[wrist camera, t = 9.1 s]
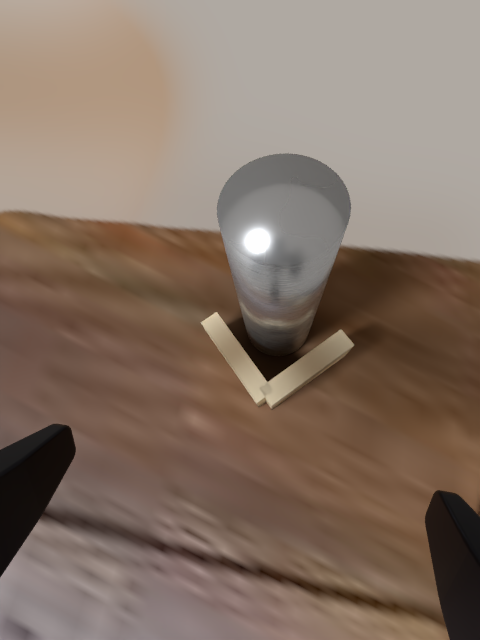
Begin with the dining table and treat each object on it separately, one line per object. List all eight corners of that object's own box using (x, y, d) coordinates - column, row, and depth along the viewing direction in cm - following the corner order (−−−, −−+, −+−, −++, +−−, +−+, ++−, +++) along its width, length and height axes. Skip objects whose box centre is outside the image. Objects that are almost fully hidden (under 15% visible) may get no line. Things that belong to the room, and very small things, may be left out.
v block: (338, 421, 21) (348, 419, 18) (196, 396, 22) (185, 390, 19) (345, 344, 22) (355, 331, 19) (212, 325, 24) (203, 310, 21)
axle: (267, 368, 22) (260, 289, 10) (235, 316, 24) (194, 191, 11) (321, 335, 23) (379, 221, 10) (287, 286, 24) (301, 134, 12)
